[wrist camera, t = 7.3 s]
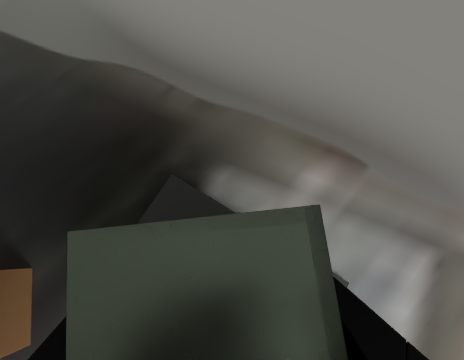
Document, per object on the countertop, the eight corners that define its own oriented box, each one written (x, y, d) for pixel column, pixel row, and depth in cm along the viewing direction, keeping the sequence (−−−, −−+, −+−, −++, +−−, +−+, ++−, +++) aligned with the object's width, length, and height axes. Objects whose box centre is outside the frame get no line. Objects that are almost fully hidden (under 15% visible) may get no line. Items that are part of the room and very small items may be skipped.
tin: (281, 355, 16) (373, 501, 6) (161, 372, 16) (63, 554, 6) (264, 235, 17) (320, 204, 8) (154, 248, 17) (67, 231, 7)
